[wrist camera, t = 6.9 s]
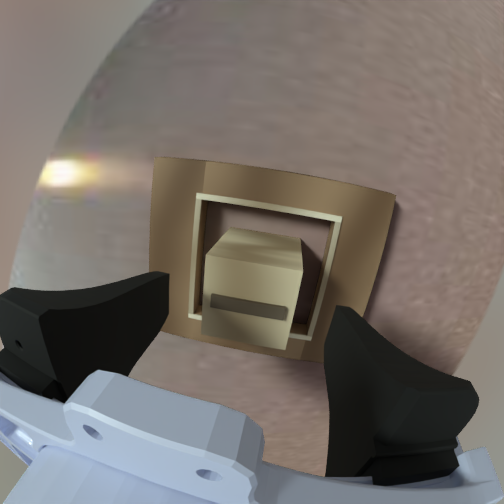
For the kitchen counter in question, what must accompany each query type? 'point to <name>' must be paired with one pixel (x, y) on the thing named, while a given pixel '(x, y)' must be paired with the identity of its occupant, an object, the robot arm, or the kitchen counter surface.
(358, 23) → the kitchen counter surface
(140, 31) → the kitchen counter surface
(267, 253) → the beige block with stripe
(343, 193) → the plate
